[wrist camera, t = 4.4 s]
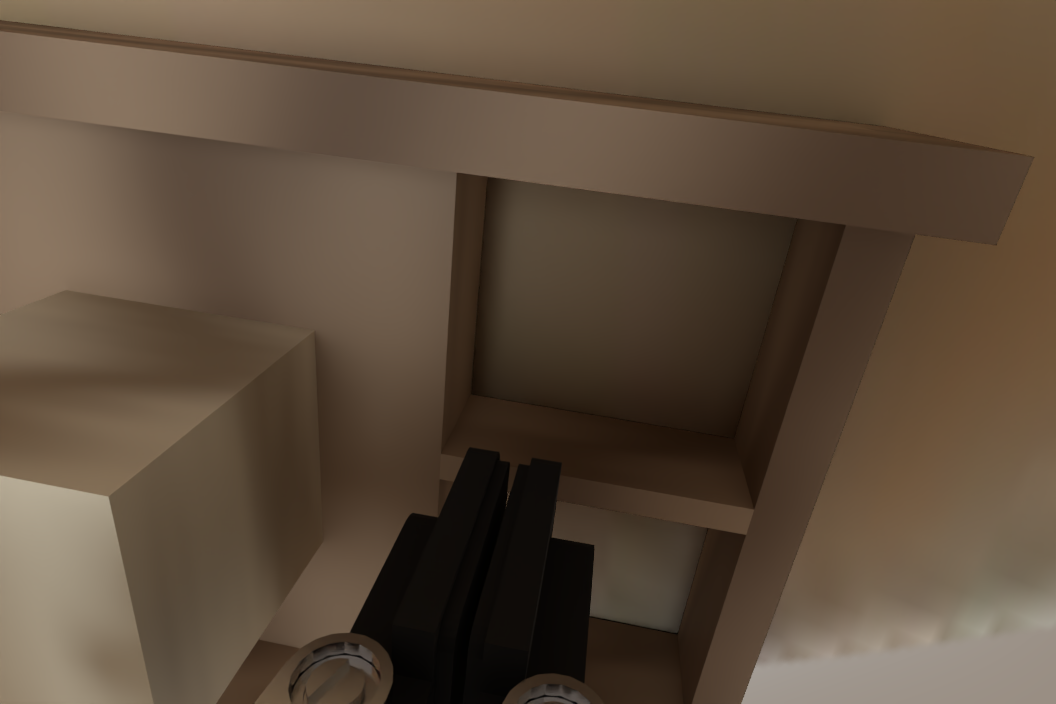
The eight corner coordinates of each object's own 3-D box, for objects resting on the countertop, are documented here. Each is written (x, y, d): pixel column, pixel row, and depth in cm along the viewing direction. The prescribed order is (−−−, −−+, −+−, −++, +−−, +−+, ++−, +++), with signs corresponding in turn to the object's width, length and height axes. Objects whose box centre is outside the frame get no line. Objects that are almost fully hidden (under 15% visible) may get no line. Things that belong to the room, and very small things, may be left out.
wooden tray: (884, 126, 11) (1095, 169, 6) (705, 673, 17) (737, 925, 12) (-451, -34, 14) (-1076, -97, 9) (-203, 488, 19) (-490, 630, 14)
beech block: (314, 330, 11) (108, 496, 7) (323, 541, 14) (169, 774, 9) (66, 289, 12) (-281, 421, 7) (111, 500, 14) (-137, 701, 10)
